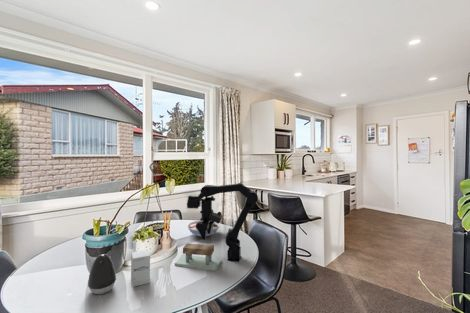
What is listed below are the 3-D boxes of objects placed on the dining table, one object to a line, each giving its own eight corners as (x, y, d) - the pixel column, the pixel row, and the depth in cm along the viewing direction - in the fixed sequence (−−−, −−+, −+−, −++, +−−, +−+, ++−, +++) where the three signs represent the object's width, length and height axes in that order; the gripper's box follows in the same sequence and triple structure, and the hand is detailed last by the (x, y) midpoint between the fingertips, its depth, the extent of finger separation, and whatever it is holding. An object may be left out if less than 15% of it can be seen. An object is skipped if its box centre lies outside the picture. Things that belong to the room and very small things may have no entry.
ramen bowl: (193, 228, 177) (193, 217, 177) (223, 230, 174) (223, 219, 173) (181, 241, 152) (181, 228, 152) (215, 243, 149) (215, 230, 149)
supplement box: (132, 287, 100) (132, 258, 100) (130, 279, 107) (130, 251, 106) (150, 283, 103) (150, 255, 103) (148, 275, 110) (148, 248, 110)
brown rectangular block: (182, 253, 120) (182, 247, 120) (186, 248, 126) (186, 243, 126) (211, 255, 118) (211, 249, 118) (214, 250, 124) (214, 245, 124)
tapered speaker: (85, 301, 91) (85, 262, 91) (90, 286, 100) (90, 251, 100) (115, 294, 95) (115, 257, 95) (116, 281, 105) (116, 248, 104)
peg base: (221, 261, 124) (221, 250, 124) (215, 270, 115) (215, 258, 115) (183, 256, 129) (183, 246, 129) (174, 265, 120) (174, 253, 120)
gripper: (216, 213, 117) (216, 244, 118) (224, 205, 136) (224, 231, 136) (195, 212, 119) (195, 242, 120) (206, 204, 138) (206, 230, 138)
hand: (206, 236), depth 128 cm, fingers open, 9 cm apart
